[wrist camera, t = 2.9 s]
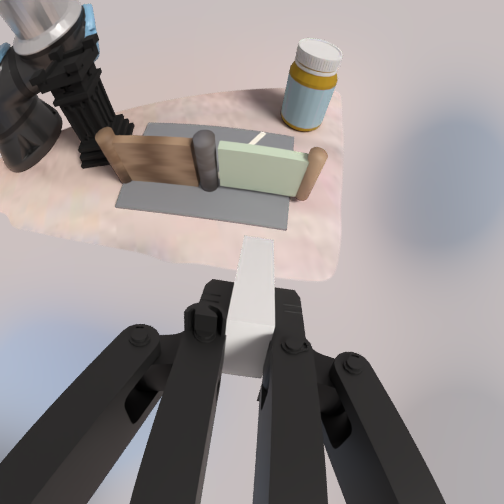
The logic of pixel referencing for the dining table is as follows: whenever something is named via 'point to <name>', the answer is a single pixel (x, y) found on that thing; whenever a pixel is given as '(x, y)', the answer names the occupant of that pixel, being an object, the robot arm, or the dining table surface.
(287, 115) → the bottle
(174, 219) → the dining table surface
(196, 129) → the board
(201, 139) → the walnut fence section
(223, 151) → the fence panel
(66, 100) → the chess piece
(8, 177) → the dining table surface
